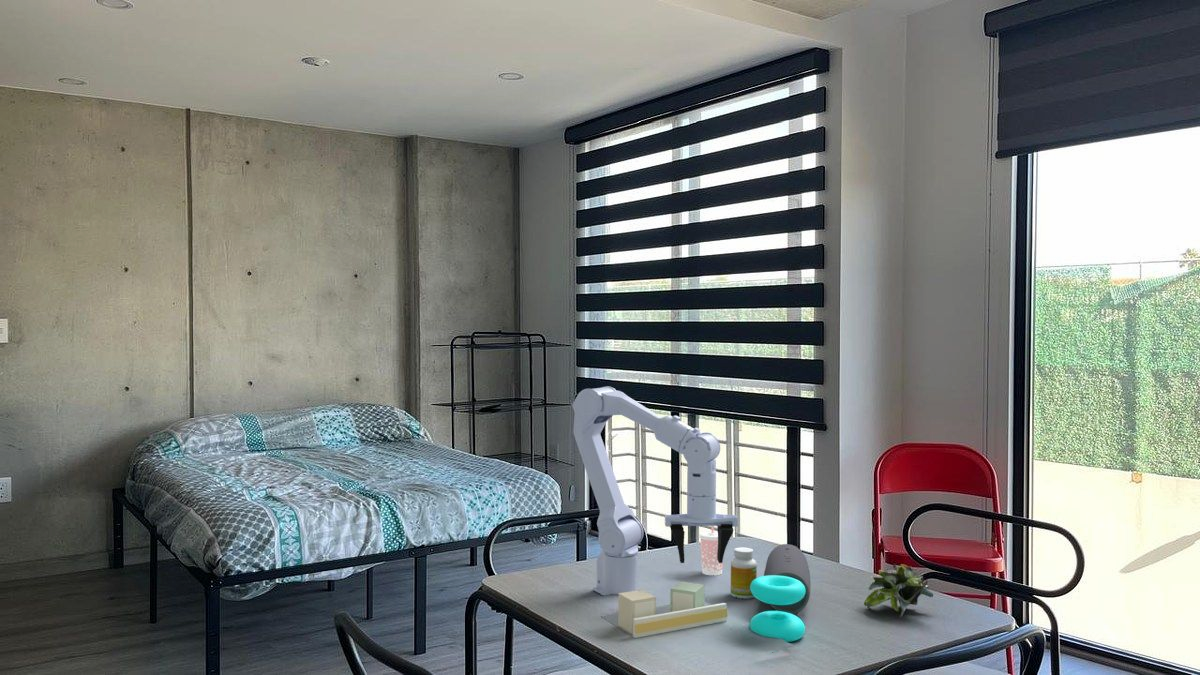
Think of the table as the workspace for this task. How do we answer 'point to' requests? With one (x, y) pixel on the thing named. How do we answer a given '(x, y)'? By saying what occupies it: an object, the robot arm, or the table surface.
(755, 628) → the donuts
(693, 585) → the sage carton
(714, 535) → the beverage cup
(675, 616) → the shelf board
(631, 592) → the beige block
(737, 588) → the supplement bottle
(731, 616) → the table surface
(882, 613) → the table surface
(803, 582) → the bluetooth speaker
